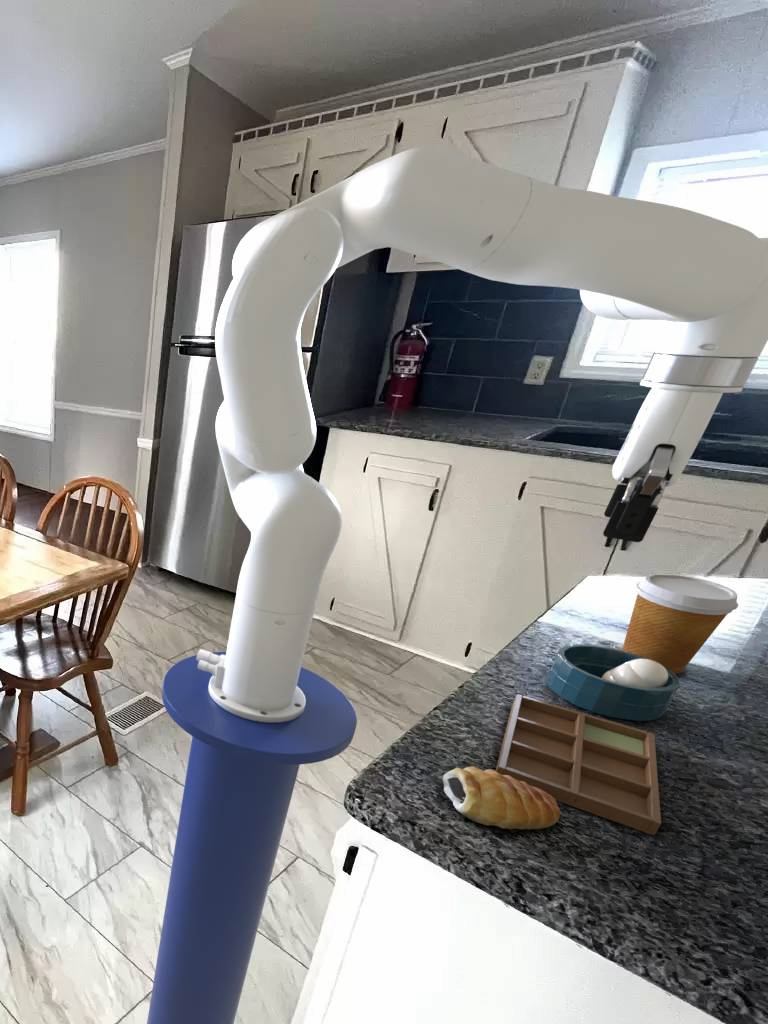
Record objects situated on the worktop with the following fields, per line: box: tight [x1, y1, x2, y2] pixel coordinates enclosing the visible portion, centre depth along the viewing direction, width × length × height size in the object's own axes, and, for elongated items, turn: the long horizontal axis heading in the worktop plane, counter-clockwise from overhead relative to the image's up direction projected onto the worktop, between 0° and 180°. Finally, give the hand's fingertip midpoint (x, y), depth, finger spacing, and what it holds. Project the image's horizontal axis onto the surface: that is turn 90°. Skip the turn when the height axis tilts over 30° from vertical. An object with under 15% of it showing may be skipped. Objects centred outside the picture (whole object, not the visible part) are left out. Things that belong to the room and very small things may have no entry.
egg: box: [602, 659, 668, 688], centre depth 80 cm, size 4×4×6 cm
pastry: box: [441, 765, 561, 831], centre depth 65 cm, size 9×7×4 cm
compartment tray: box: [495, 693, 662, 836], centre depth 71 cm, size 13×19×2 cm
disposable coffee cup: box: [621, 573, 739, 675], centre depth 87 cm, size 10×10×12 cm
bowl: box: [545, 643, 681, 722], centre depth 81 cm, size 11×11×5 cm
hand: (621, 528), depth 74 cm, fingers open, 9 cm apart
